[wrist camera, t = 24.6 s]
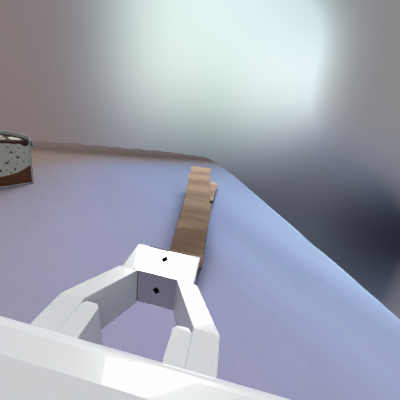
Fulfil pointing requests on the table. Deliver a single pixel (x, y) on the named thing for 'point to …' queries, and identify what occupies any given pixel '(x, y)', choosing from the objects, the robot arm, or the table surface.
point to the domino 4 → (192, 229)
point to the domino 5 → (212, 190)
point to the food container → (15, 159)
